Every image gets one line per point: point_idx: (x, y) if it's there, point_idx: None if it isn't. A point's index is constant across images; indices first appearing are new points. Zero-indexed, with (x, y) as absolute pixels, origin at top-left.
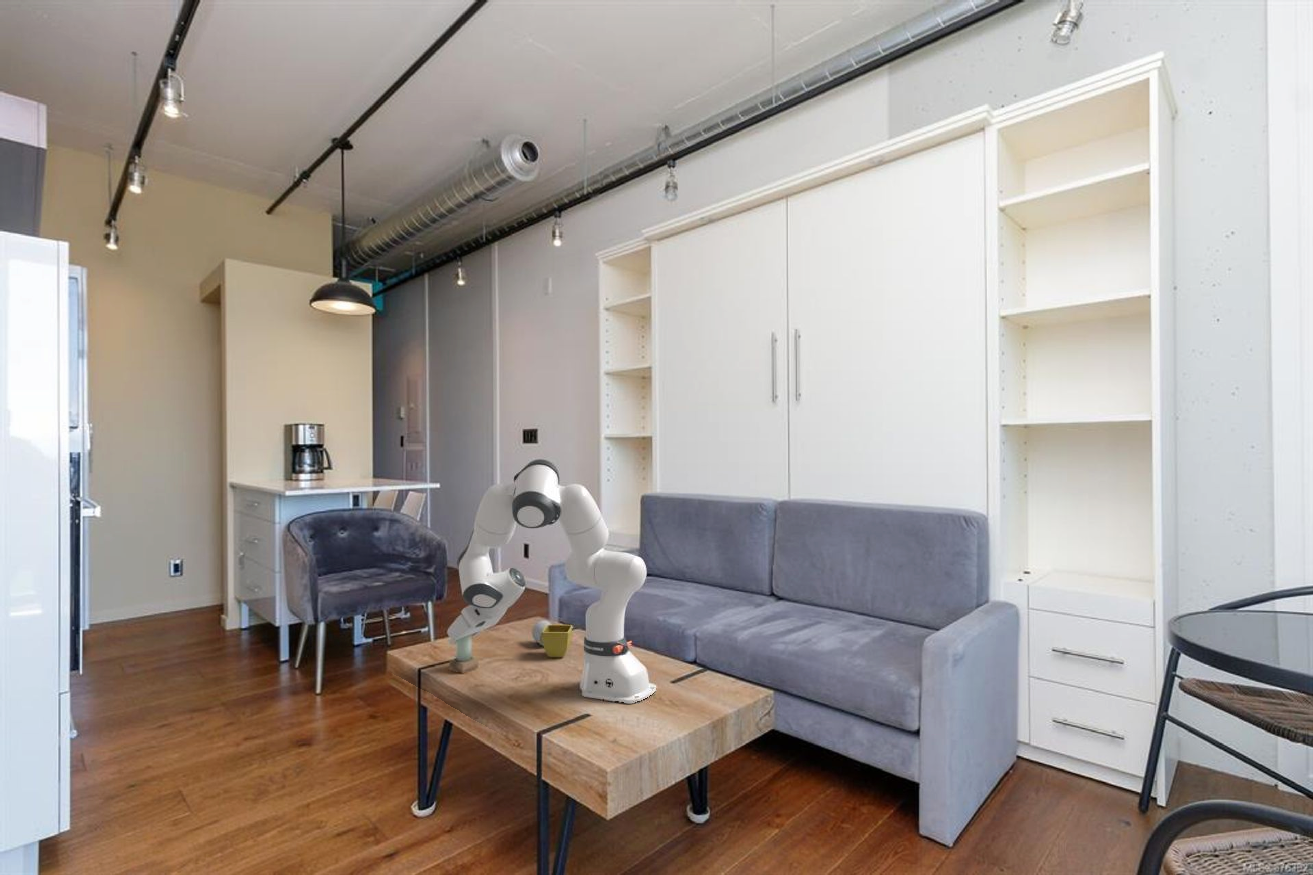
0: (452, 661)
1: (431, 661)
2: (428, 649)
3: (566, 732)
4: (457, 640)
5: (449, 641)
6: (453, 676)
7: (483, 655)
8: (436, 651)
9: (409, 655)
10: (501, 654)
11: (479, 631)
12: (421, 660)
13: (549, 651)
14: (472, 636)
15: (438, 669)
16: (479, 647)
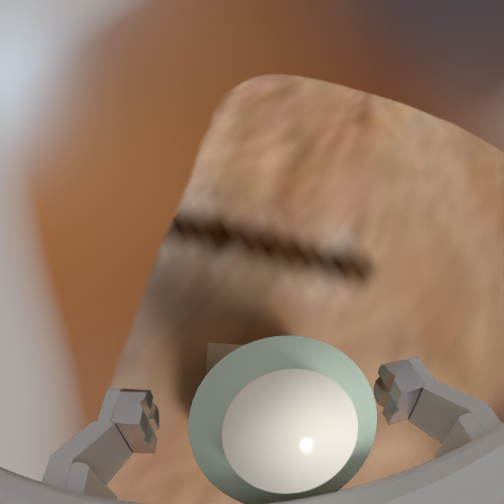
0: (206, 366)
1: (257, 197)
2: (336, 112)
3: None
4: (147, 450)
5: (111, 392)
6: (163, 421)
7: (427, 319)
8: (342, 140)
9: (261, 105)
10: (467, 367)
11: (423, 429)
12: (245, 161)
13: None
14: (375, 389)
15: (197, 295)
16: (460, 233)
